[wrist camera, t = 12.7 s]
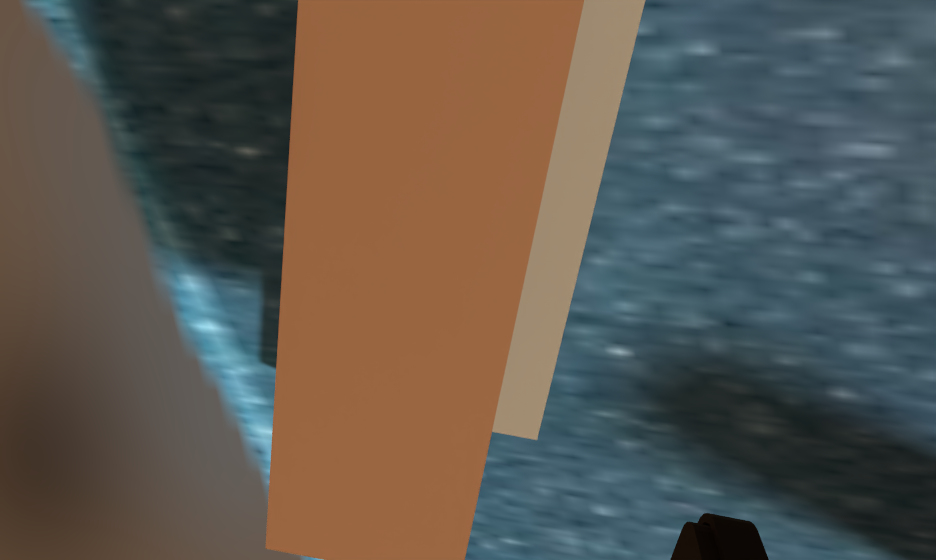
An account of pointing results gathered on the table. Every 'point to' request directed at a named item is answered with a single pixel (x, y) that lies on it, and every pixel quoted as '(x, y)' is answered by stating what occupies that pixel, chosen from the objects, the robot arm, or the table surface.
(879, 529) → the table surface
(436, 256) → the shelf board
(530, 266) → the peg base
